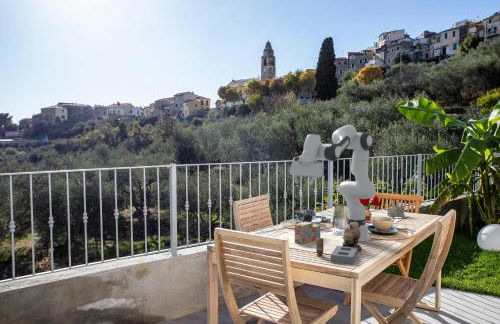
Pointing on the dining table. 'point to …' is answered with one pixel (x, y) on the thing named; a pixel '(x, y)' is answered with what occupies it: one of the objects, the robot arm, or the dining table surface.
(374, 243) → the dining table surface
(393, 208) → the ceramic cottage
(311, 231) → the stack of blocks
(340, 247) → the two-hole board
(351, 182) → the robot arm
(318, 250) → the walnut peg
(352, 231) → the beige rough lumpy piece
